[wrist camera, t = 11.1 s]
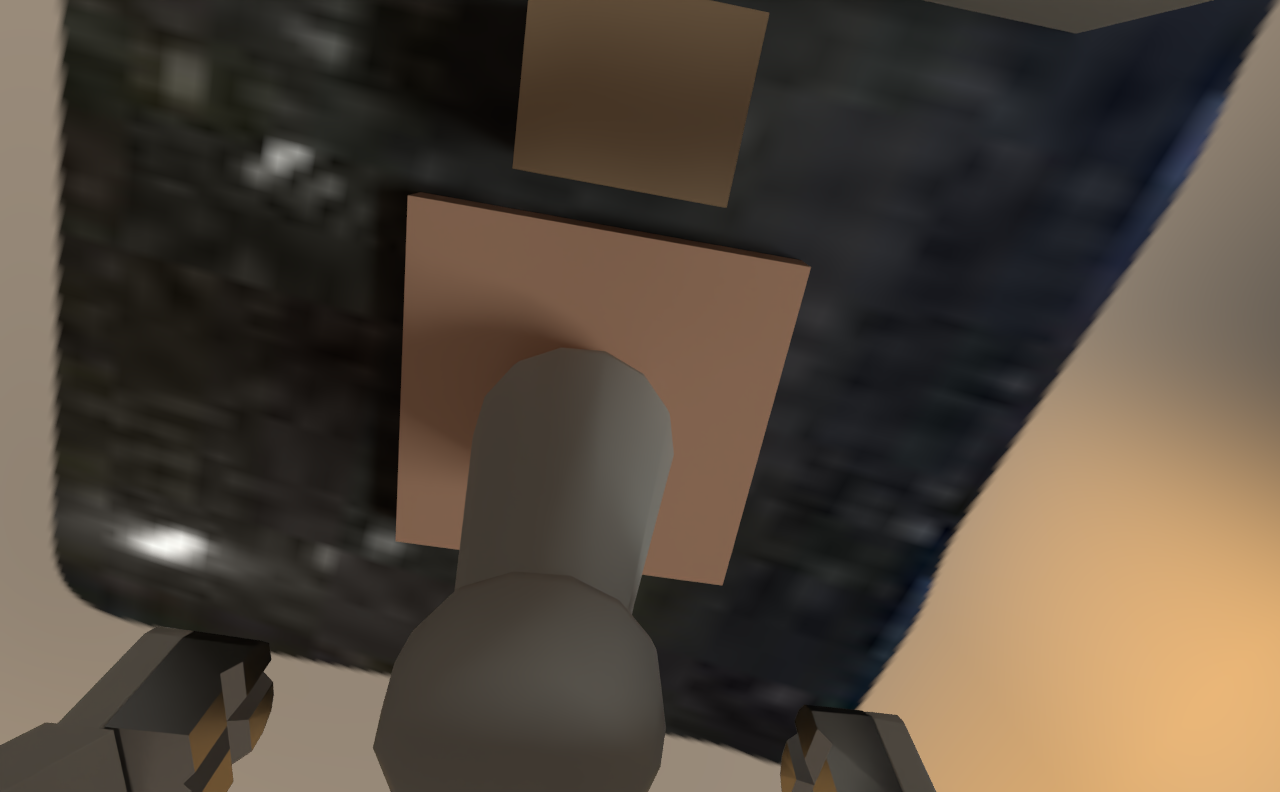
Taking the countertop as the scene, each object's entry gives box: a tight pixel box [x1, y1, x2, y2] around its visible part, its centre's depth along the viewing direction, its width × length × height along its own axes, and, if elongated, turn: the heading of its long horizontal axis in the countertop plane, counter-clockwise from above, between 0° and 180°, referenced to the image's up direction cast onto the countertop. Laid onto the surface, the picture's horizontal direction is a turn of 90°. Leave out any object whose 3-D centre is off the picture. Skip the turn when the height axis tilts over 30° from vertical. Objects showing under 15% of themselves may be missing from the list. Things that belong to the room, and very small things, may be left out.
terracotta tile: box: [396, 192, 811, 585], centre depth 21 cm, size 12×12×1 cm
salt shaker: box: [373, 347, 674, 792], centre depth 14 cm, size 6×6×13 cm
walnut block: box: [513, 0, 769, 208], centre depth 16 cm, size 4×5×5 cm
